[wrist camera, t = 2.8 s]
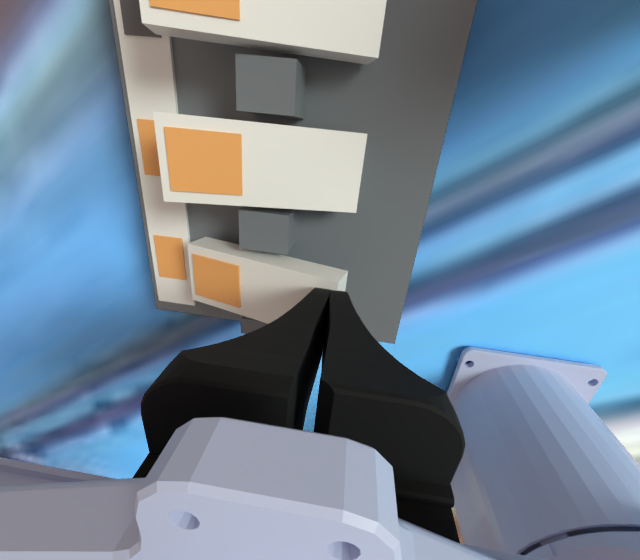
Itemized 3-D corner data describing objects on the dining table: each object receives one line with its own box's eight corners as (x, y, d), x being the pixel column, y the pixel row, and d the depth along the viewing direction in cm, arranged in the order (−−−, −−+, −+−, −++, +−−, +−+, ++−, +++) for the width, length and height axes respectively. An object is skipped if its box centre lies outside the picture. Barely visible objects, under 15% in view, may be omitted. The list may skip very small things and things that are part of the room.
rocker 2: (339, 328, 14) (329, 344, 13) (209, 289, 16) (191, 300, 15) (348, 270, 12) (337, 283, 11) (206, 236, 14) (185, 244, 13)
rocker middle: (349, 205, 13) (356, 213, 12) (173, 194, 12) (163, 201, 11) (358, 133, 12) (368, 133, 11) (164, 112, 11) (151, 111, 10)
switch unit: (390, 318, 18) (398, 369, 14) (180, 288, 19) (132, 329, 15) (476, -65, 11) (541, -177, 7) (138, -84, 12) (26, -194, 8)
